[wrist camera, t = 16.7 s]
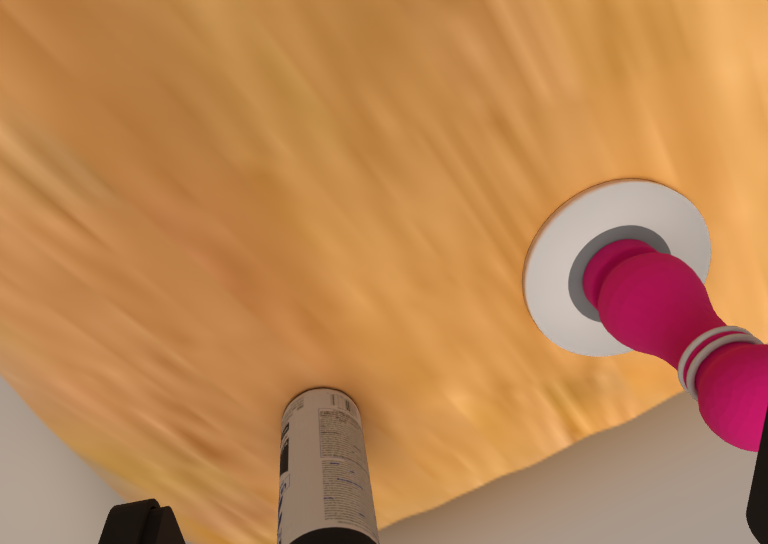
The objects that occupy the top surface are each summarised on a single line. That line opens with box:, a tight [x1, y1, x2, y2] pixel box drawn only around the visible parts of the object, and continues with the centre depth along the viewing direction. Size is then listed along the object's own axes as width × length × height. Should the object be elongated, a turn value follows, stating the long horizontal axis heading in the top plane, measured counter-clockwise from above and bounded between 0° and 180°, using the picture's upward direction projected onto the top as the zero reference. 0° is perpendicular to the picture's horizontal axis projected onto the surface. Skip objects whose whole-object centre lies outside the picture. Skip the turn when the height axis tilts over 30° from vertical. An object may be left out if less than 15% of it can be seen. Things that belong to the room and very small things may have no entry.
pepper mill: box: [583, 239, 768, 452], centre depth 39 cm, size 7×7×20 cm
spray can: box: [277, 388, 380, 544], centre depth 43 cm, size 7×7×20 cm
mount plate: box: [522, 179, 711, 356], centre depth 49 cm, size 15×15×1 cm
